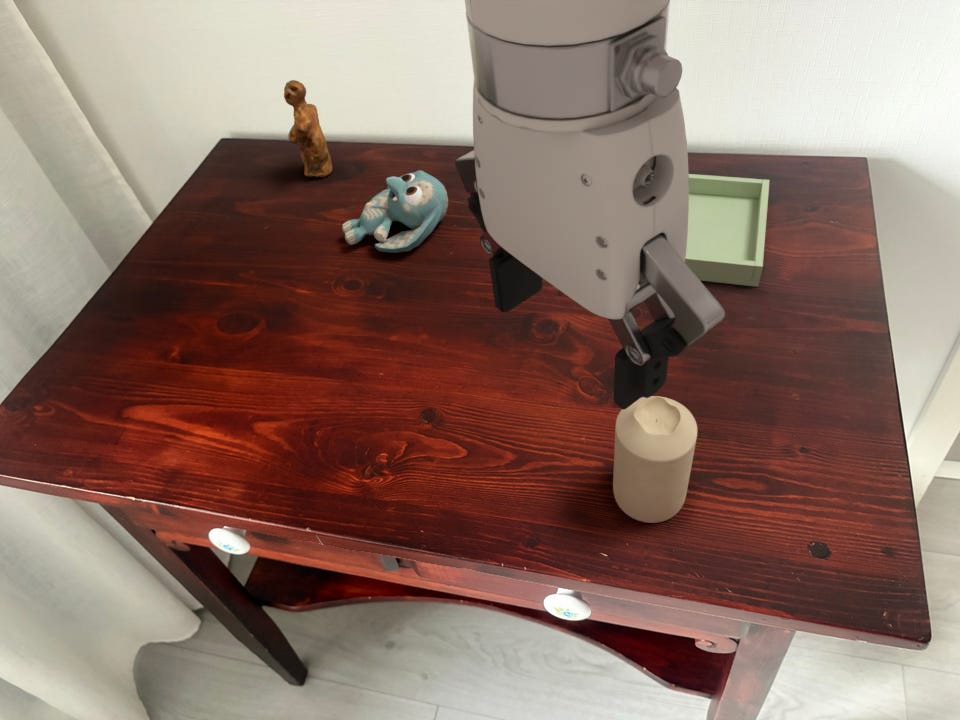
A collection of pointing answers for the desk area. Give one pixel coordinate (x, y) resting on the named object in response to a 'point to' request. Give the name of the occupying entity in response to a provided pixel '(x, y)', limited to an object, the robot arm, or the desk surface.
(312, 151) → the figurine
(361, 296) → the desk surface
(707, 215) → the tray
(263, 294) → the desk surface
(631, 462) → the candle
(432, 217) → the stuffed animal
